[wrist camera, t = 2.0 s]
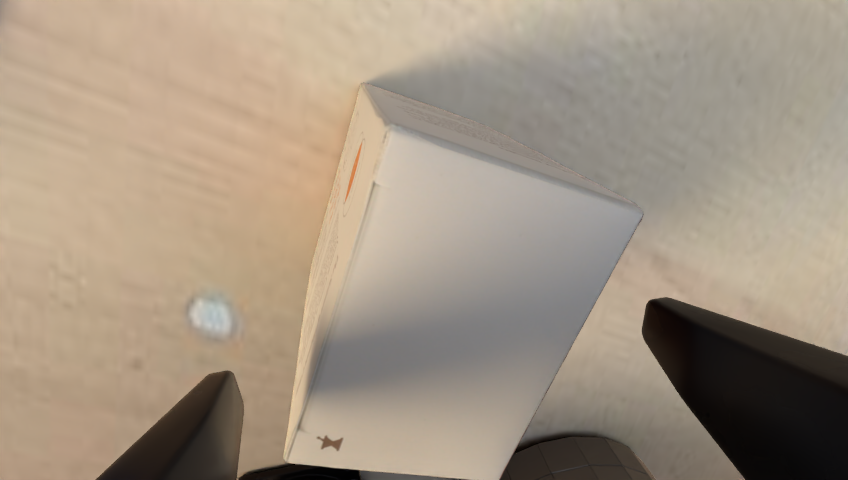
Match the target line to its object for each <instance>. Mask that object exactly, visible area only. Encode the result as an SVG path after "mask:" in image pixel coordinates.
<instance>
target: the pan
mask: <svg viewBox="0 0 848 480" xmlns="http://www.w3.org/2000/svg"><path fill="white" fill-rule="evenodd" d="M500 480H656V479H655V478H654V476H653V475H652V474H651V472H650V471H649V470H648V468H647V467H646V465H645V464H644V463H643V462H642V461H641V459H640V458H639V457H638V456H637V455H636V454H635V453H634V452H633V451H632V450H631V449H630V448H629V447H627V446H625V445H622V444H619V443H617V442H614V441H611V440H609V439H606V438H595V437H567V438H563V439H558V440H553V441H548V442H543V443H539V444H536V445H533V446H531V447H529V448H527V449H524V450H522V451H520V452H518V453H515V454H513V455H512V457H511V459H510V461H509V463H508V464H507V466H506V468H505V470H504V472H503V474H502V476H501V478H500Z"/></svg>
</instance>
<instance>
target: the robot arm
mask: <svg viewBox="0 0 848 480" xmlns="http://www.w3.org/2000/svg"><path fill="white" fill-rule="evenodd" d="M642 335H643V338H644V340H645V342H646V344H647V345H648V347H649V348H650V350H651V352H652V353H653V355H654V356H655V358H656V359H657V361H658V362H659V364H660V366H661V367H662V369H663V370H664V372H665V373H666V375H667V376H668V378H669V380H670V381H671V383H672V384H673V386H674V387H675V389H676V390H677V392H678V393H679V395H680V396H681V398H682V399H683V400H684V402H685V403H686V404H687V406H688V407H689V408H690V410H691V411H692V412H693V414H694V415H695V416H696V417H697V419H698V420H699V421H700V422H701V424H702V425H703V426H704V428H705V429H706V430H707V431H708V433H709V434H710V435H711V436H712V438H713V439H714V440H715V442H716V443H717V444H718V445H719V447H720V448H721V449H722V450H723V452H724V453H725V454H726V456H727V457H728V458H729V459H730V461H731V462H732V463H733V464H734V466H735V467H736V468H737V470H738V471H739V472H740V473H741V475H742V476H743V477H744V478H745V480H848V356H846V355H843V354H840V353H837V352H834V351H831V350H828V349H825V348H822V347H819V346H815V345H812V344H809V343H806V342H803V341H800V340H797V339H794V338H791V337H788V336H785V335H782V334H779V333H776V332H773V331H770V330H766V329H763V328H760V327H757V326H754V325H751V324H748V323H745V322H742V321H739V320H736V319H733V318H730V317H727V316H724V315H721V314H717V313H714V312H711V311H708V310H705V309H702V308H699V307H696V306H693V305H690V304H687V303H684V302H681V301H678V300H675V299H672V298H668V297H664V298H658V299H652V300H650V301H649V302H648V303H647V305H646V309H645V315H644V320H643V326H642ZM243 415H244V405H243V400H242V397H241V394H240V391H239V388H238V385H237V382H236V379H235V376H234V374H233V373H232V372H231V371H222V372H216V373H211V374H209V375H208V376H206V377H205V378H204V379H203V380H202V381H201V382H200V383H199V384H198V385H197V386H195V387H194V388H193V389H192V390H191V391H190V392H189V393H188V394H187V395H186V396H185V397H184V398H183V399H182V400H180V401H179V402H178V403H177V404H176V405H175V406H174V407H173V408H172V409H171V410H170V411H169V412H168V413H167V414H165V415H164V416H163V417H162V418H161V419H160V420H159V421H158V422H157V423H156V424H155V425H154V426H153V427H151V428H150V429H149V430H148V431H147V432H146V433H145V434H144V435H143V436H142V437H141V438H140V439H139V440H138V441H136V442H135V443H134V444H133V445H132V446H131V447H130V448H129V449H128V450H127V451H126V452H125V453H124V454H123V455H121V456H120V457H119V458H118V459H117V460H116V461H115V462H114V463H113V464H112V465H111V466H110V467H109V468H108V469H106V470H105V471H104V472H103V473H102V474H101V475H100V476H99V477H98V478H97V479H96V480H236V478H237V469H238V460H239V451H240V442H241V433H242V424H243ZM238 480H361V475H360V470H354V469H343V468H331V467H323V466H313V465H302V464H299V465H294V466H289V467H284V468H279V469H274V470H269V471H264V472H259V473H254V474H249V475H244V476H242V477H240V478H239V479H238Z"/></svg>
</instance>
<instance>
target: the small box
mask: <svg viewBox="0 0 848 480" xmlns="http://www.w3.org/2000/svg"><path fill="white" fill-rule="evenodd" d="M643 215H644V213H643V210H642V209H641V208H640V207H639V206H638V205H637V204H635V203H633V202H631V201H629V200H628V199H626V198H624V197H622V196H620V195H618V194H616V193H614V192H612V191H610V190H609V189H607V188H605V187H603V186H601V185H599V184H597V183H595V182H593V181H591V180H589V179H587V178H585V177H583V176H582V175H580V174H578V173H576V172H574V171H572V170H570V169H568V168H566V167H564V166H563V165H561V164H559V163H557V162H555V161H553V160H552V159H550V158H548V157H546V156H545V155H543V154H541V153H539V152H537V151H535V150H533V149H530V148H528V147H526V146H524V145H522V144H521V143H519V142H517V141H515V140H513V139H511V138H509V137H508V136H506V135H504V134H502V133H500V132H498V131H496V130H494V129H492V128H490V127H488V126H485V125H483V124H480V123H478V122H475V121H473V120H470V119H467V118H465V117H462V116H459V115H456V114H454V113H451V112H448V111H445V110H442V109H440V108H437V107H434V106H431V105H428V104H425V103H423V102H420V101H417V100H414V99H411V98H408V97H405V96H402V95H399V94H396V93H393V92H390V91H387V90H384V89H381V88H378V87H376V86H373V85H370V84H367V83H362V84H361V85H360V88H359V92H358V96H357V100H356V104H355V107H354V111H353V114H352V118H351V122H350V125H349V129H348V133H347V137H346V140H345V144H344V148H343V151H342V155H341V159H340V162H339V166H338V170H337V173H336V177H335V181H334V184H333V188H332V191H331V195H330V199H329V202H328V206H327V210H326V213H325V217H324V221H323V224H322V228H321V232H320V235H319V239H318V243H317V246H316V250H315V253H314V256H313V260H312V265H311V271H310V277H309V283H308V289H307V296H306V302H305V309H304V316H303V323H302V330H301V337H300V344H299V352H298V359H297V368H296V376H295V383H294V389H293V396H292V403H291V410H290V417H289V425H288V431H287V437H286V444H285V450H284V456H283V458H284V460H285V461H286V462H287V463H292V464H302V465H313V466H323V467H331V468H343V469H354V470H365V471H377V472H390V473H399V474H411V475H423V476H434V477H444V478H455V479H468V480H500V478H501V476H502V474H503V472H504V470H505V468H506V466H507V464H508V463H509V461H510V459H511V457H512V455H513V453H514V452H515V450H516V448H517V446H518V444H519V442H520V440H521V439H522V437H523V435H524V433H525V431H526V430H527V428H528V426H529V424H530V422H531V420H532V418H533V416H534V415H535V413H536V411H537V409H538V407H539V405H540V403H541V402H542V400H543V398H544V396H545V394H546V393H547V391H548V389H549V387H550V385H551V383H552V381H553V380H554V378H555V376H556V374H557V372H558V370H559V368H560V367H561V365H562V363H563V361H564V360H565V358H566V356H567V354H568V352H569V350H570V348H571V347H572V345H573V343H574V341H575V339H576V337H577V335H578V334H579V332H580V330H581V328H582V327H583V325H584V323H585V321H586V319H587V317H588V316H589V314H590V312H591V310H592V308H593V306H594V304H595V303H596V301H597V299H598V297H599V295H600V294H601V292H602V290H603V288H604V286H605V285H606V283H607V281H608V279H609V277H610V275H611V273H612V271H613V270H614V268H615V266H616V264H617V262H618V260H619V259H620V257H621V255H622V253H623V251H624V250H625V248H626V246H627V244H628V243H629V241H630V239H631V237H632V235H633V234H634V232H635V230H636V228H637V226H638V225H639V223H640V222H641V220H642V218H643Z"/></svg>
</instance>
